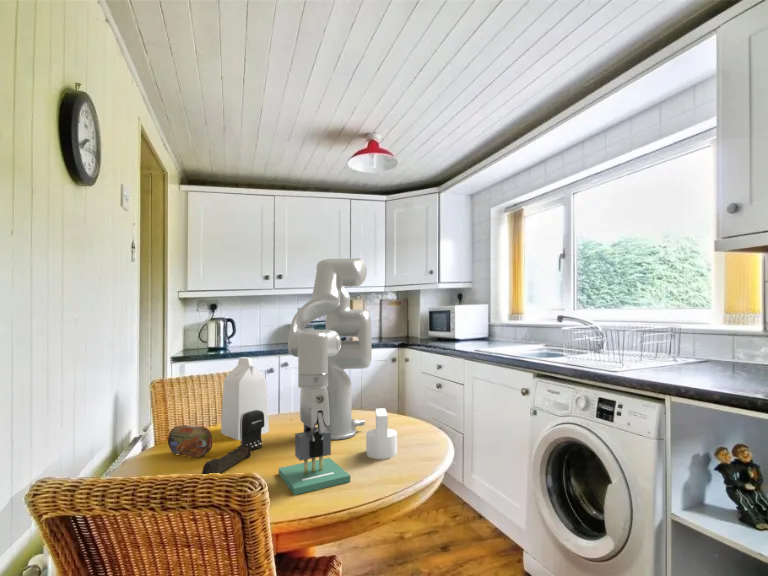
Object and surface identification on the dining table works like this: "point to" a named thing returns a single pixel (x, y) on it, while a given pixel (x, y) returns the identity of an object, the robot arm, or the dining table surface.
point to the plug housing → (304, 444)
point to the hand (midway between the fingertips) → (313, 452)
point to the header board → (313, 475)
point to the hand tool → (227, 460)
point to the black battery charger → (251, 428)
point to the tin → (190, 440)
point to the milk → (243, 397)
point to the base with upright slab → (381, 438)
